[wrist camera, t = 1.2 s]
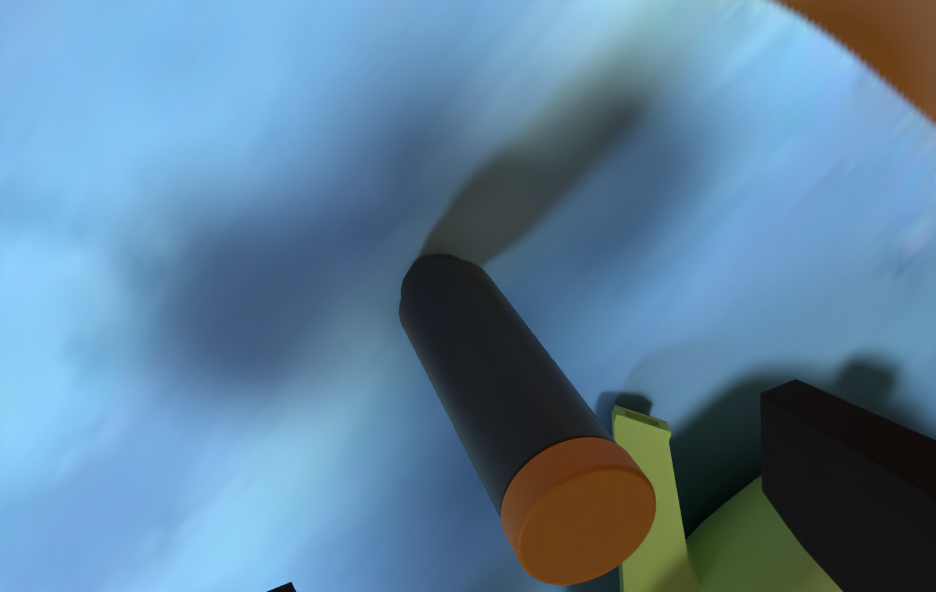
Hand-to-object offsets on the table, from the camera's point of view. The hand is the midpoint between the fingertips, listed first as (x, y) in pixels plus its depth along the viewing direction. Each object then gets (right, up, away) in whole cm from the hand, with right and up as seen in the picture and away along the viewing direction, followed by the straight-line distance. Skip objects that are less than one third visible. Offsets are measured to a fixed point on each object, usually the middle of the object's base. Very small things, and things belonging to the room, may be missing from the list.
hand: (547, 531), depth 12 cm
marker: (-2, +4, +8) cm, 10 cm away
